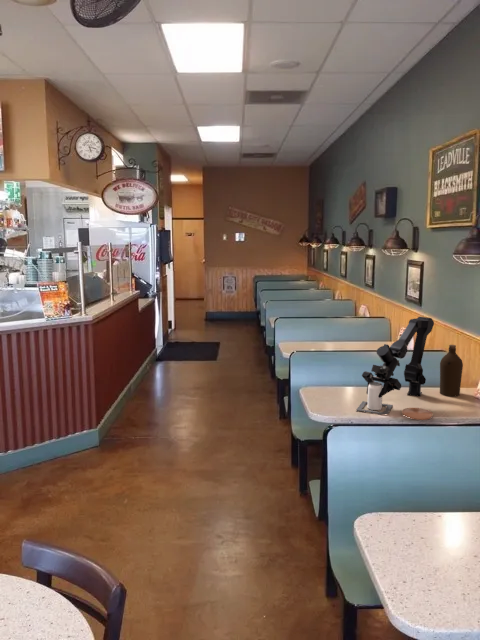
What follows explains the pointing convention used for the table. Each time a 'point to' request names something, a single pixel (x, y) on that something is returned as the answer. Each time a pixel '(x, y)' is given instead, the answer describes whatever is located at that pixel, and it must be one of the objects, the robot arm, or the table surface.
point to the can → (374, 396)
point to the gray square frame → (374, 411)
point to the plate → (417, 413)
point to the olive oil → (450, 373)
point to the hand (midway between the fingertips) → (373, 395)
